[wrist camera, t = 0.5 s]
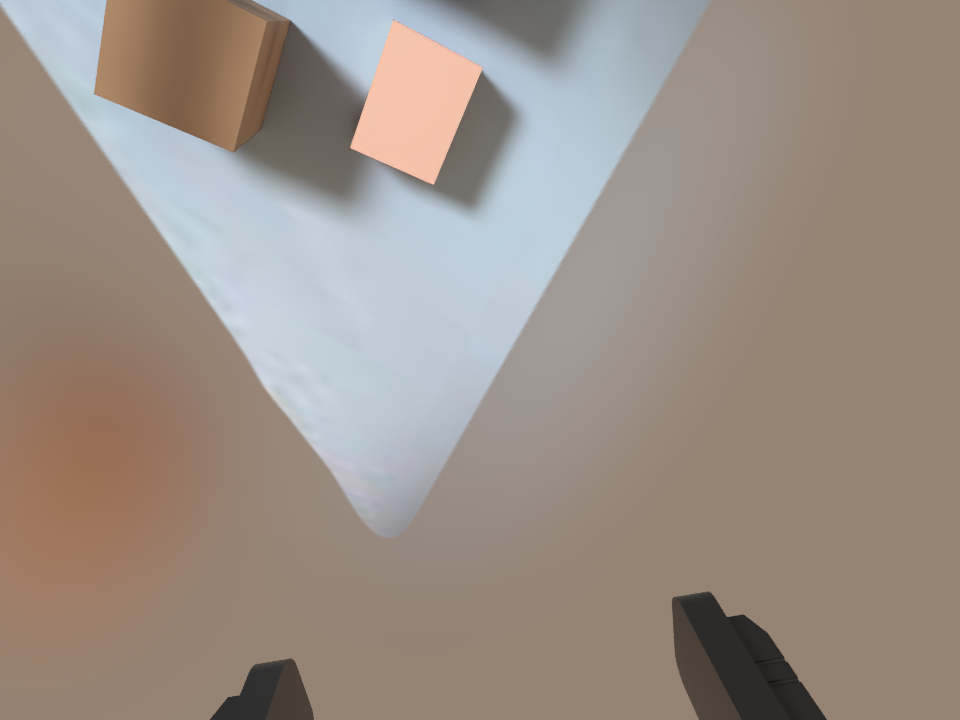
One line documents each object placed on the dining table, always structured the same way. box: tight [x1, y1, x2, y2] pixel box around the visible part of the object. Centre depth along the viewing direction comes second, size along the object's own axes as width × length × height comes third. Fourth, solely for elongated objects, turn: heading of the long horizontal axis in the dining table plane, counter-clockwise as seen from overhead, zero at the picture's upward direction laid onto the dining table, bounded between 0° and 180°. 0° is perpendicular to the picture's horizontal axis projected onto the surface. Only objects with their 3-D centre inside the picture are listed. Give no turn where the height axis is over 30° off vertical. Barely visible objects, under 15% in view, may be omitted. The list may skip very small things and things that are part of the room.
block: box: [94, 0, 291, 152], centre depth 25 cm, size 6×6×6 cm
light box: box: [350, 20, 483, 185], centre depth 28 cm, size 4×6×4 cm
